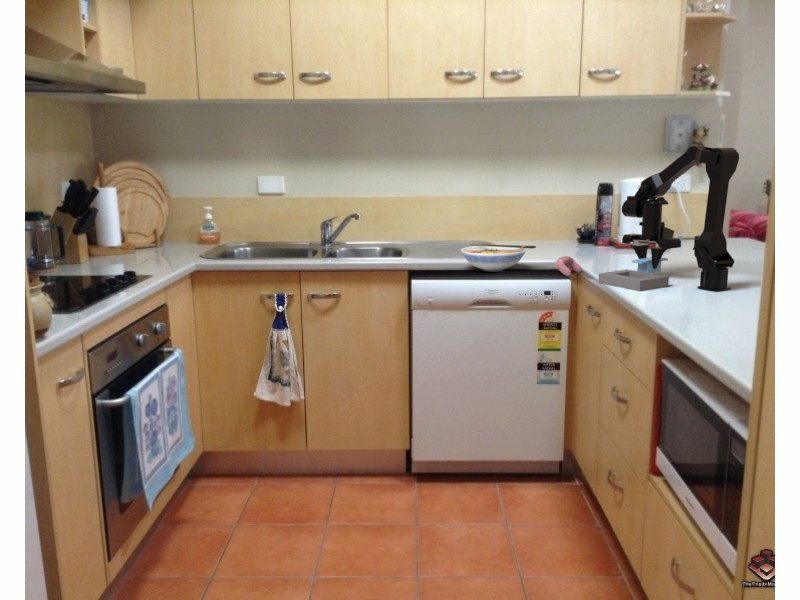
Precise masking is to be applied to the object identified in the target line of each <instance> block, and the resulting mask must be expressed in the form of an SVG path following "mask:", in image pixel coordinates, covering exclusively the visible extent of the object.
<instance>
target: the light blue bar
mask: <svg viewBox="0 0 800 600" xmlns="http://www.w3.org/2000/svg"><path fill="white" fill-rule="evenodd" d="M665 261H669V258H667V257H666V258H665V257H661V259H660V262H659V264H658V266H657V268H656V269H653V265H652V256H651V257H647V258H642V259H639V258H637V259H633V260H631V261H630V263H633V264H637V271H639V272H645V273H651V274H652V273H657V272H661V271H662V262H665Z"/></svg>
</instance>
